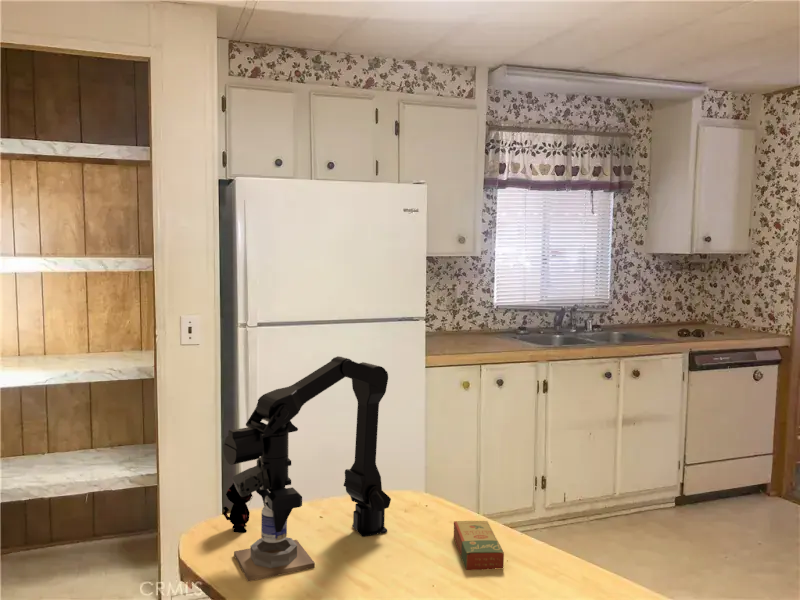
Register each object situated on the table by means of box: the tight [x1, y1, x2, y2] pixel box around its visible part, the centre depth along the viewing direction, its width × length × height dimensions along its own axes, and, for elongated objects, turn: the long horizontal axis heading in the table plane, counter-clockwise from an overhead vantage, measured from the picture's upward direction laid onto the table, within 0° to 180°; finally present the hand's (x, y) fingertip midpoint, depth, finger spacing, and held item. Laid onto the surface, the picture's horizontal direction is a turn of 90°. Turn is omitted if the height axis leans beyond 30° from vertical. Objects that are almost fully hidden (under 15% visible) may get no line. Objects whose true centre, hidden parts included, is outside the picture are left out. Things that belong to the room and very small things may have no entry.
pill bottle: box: [260, 495, 288, 543], centre depth 142 cm, size 5×5×9 cm
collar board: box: [233, 537, 316, 582], centre depth 143 cm, size 14×12×4 cm
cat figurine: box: [222, 482, 254, 534], centre depth 158 cm, size 7×7×12 cm
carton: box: [453, 520, 505, 571], centre depth 149 cm, size 8×16×4 cm, turn 5°
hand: (274, 526), depth 142 cm, fingers closed on pill bottle, 5 cm apart
